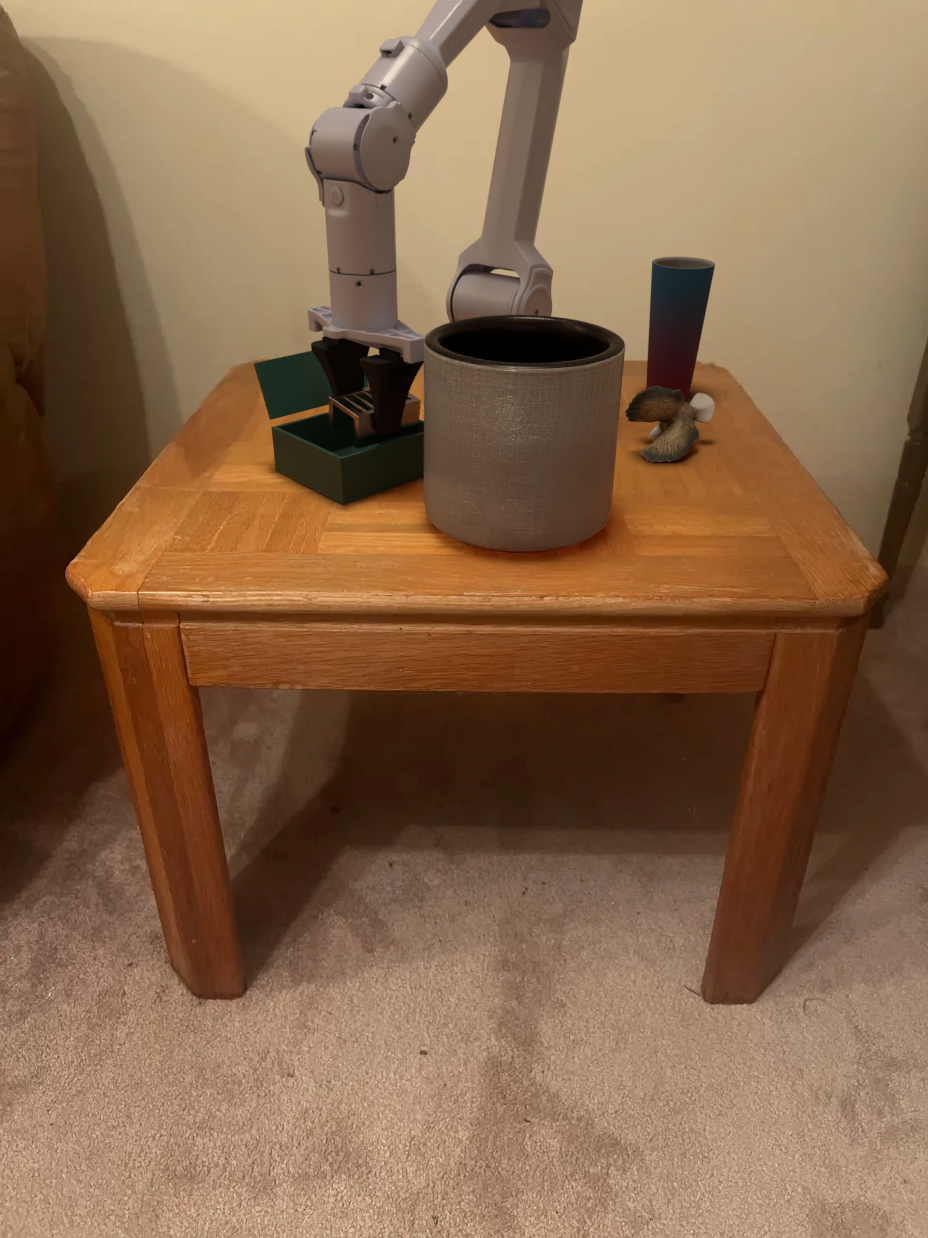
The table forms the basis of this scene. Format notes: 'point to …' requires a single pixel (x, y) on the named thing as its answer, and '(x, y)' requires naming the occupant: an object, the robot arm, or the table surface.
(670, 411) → the mushroom cluster
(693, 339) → the cup
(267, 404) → the lid
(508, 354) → the planter
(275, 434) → the green box
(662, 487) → the table surface
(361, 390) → the rack
